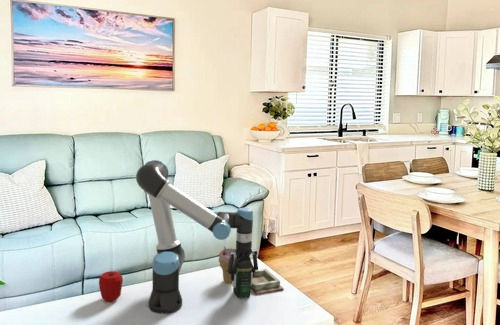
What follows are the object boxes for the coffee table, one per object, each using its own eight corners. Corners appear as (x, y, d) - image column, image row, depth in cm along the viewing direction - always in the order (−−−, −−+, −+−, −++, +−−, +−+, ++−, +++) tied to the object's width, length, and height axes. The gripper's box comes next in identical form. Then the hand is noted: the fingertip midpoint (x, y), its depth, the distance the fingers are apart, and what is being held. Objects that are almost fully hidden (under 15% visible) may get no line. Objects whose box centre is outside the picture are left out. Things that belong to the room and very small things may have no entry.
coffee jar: (252, 298, 204) (254, 261, 201) (236, 299, 202) (238, 262, 199) (246, 289, 213) (248, 253, 210) (231, 290, 211) (232, 254, 208)
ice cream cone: (236, 287, 215) (237, 249, 211) (215, 284, 217) (216, 247, 214) (241, 278, 225) (242, 242, 222) (221, 275, 227) (222, 239, 224)
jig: (256, 294, 208) (256, 288, 207) (238, 276, 227) (239, 270, 227) (283, 290, 214) (283, 283, 213) (264, 272, 234) (264, 266, 233)
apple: (125, 301, 196) (125, 274, 193) (102, 306, 190) (101, 278, 188) (119, 292, 205) (119, 265, 202) (97, 296, 199) (96, 269, 197)
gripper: (226, 245, 195) (224, 291, 199) (267, 240, 204) (264, 285, 208) (220, 240, 202) (219, 285, 206) (260, 235, 211) (258, 278, 215)
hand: (242, 285), depth 207 cm, fingers closed on coffee jar, 8 cm apart
